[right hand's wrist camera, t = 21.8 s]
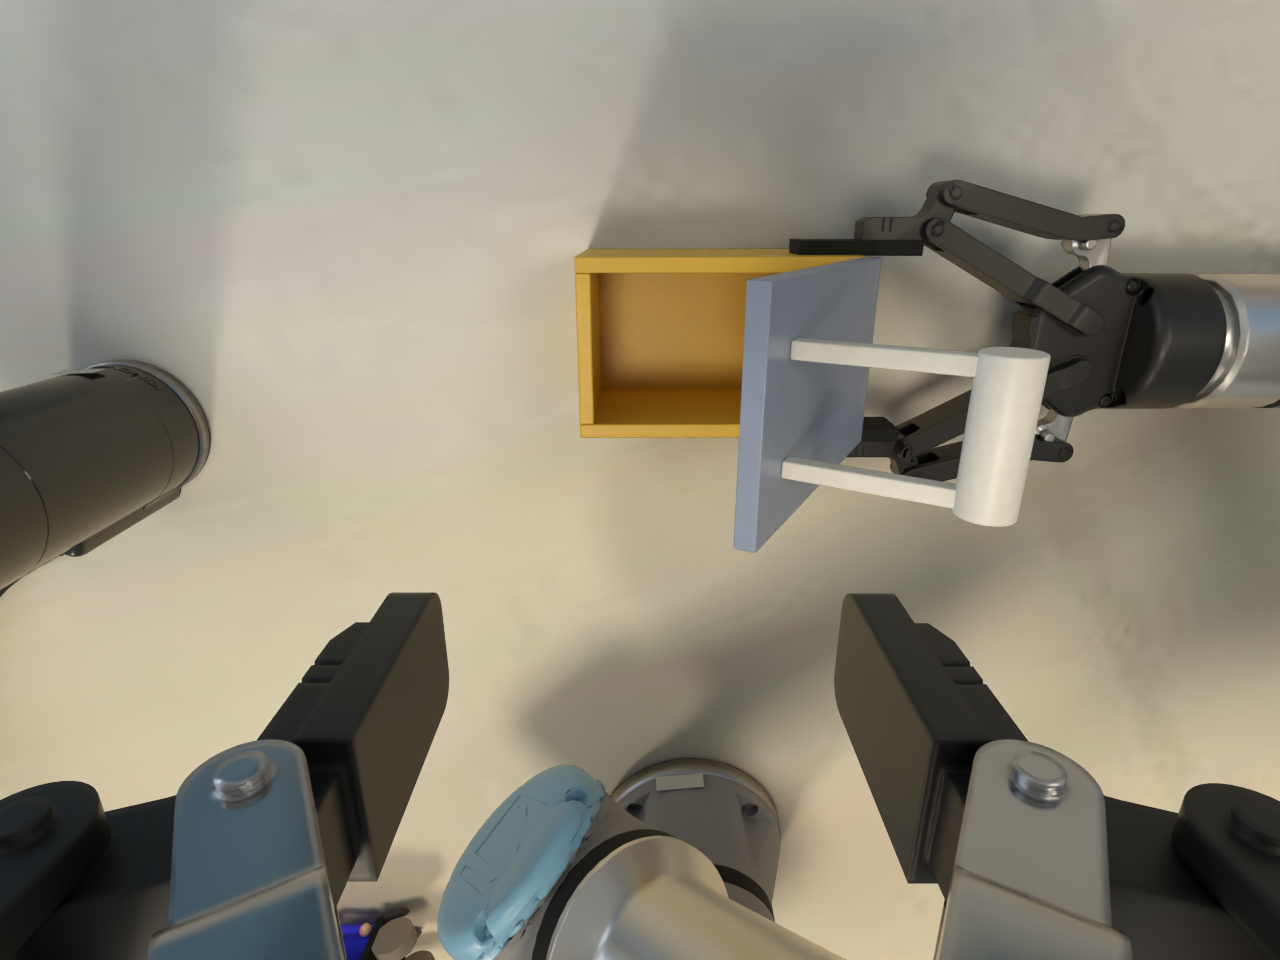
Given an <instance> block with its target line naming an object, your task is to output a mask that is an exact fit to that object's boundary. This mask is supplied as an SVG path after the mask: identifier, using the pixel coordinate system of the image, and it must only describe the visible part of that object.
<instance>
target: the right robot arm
mask: <svg viewBox="0 0 1280 960" xmlns="http://www.w3.org/2000/svg"><path fill="white" fill-rule="evenodd" d="M53 374H65V375H61V376H58V377H54V378H50V379H47V380H43V381H39V382H36V383H32V384H28V385H25V386H21V387H17V388H14V389H10V390H7V391H3V392H0V596H1V595H2V594H3V593H4V592H5V591H6V590H7V589H8V588H9V587H10V586H12V585H13V584H14V583H15V582H17V581H18V580H19V579H21V578H22V577H24V576H25V575H27V574H29V573H30V572H32V571H34V570H35V569H37V568H39V567H41V566H42V565H44V564H46V563H48V562H50V561H51V560H53V559H55V558H56V557H58V556H63V555H64V554H65V555H68V556H72V557H79V556H83V555H85V554H87V553H88V552H90V551H92V550H93V549H95V548H96V547H98V546H100V545H101V544H103V543H105V542H106V541H108V540H110V539H111V538H113V537H115V536H116V535H118V534H120V533H121V532H123V531H124V530H126V529H128V528H129V527H131V526H133V525H134V524H136V523H138V522H139V521H141V520H143V519H144V518H146V517H148V516H149V515H151V514H152V513H154V512H156V511H157V510H159V509H161V508H162V507H164V506H166V505H167V504H169V503H171V502H172V501H174V500H176V499H177V498H178V497H179V491H180V488H181V486H183V485H185V484H187V483H188V482H190V481H191V480H192V479H193V478H194V477H195V476H197V474H198V473H199V472H200V471H201V469H202V468H203V466H204V464H205V462H206V459H207V456H208V451H209V431H208V427H207V423H206V420H205V417H204V415H203V412H202V410H201V409H200V407H199V405H198V403H197V402H196V400H195V399H194V398H193V396H192V395H191V394H190V393H189V391H188V390H187V389H186V388H185V387H184V386H183V385H182V384H181V383H179V382H178V381H177V380H176V379H174V378H173V377H172V376H170V375H169V374H167V373H165V372H164V371H162V370H160V369H158V368H156V367H154V366H151V365H148V364H145V363H142V362H137V361H132V360H113V361H108V362H103V363H100V364H96V365H93V366H90V367H87V368H85V369H82V370H64V371H61V372H57V373H53ZM834 684H835V696H836V702H837V706H838V710H839V713H840V715H841V718H842V720H843V723H844V725H845V728H846V730H847V733H848V735H849V738H850V740H851V743H852V745H853V748H854V750H855V753H856V755H857V758H858V760H859V763H860V765H861V768H862V770H863V773H864V775H865V778H866V780H867V783H868V785H869V787H870V790H871V792H872V795H873V797H874V800H875V802H876V805H877V807H878V810H879V812H880V815H881V817H882V820H883V822H884V825H885V827H886V830H887V832H888V835H889V837H890V840H891V842H892V845H893V847H894V850H895V852H896V855H897V857H898V860H899V862H900V864H901V867H902V869H903V872H904V874H905V877H906V879H907V882H908V883H938V885H939V887H940V889H941V891H942V894H943V896H944V898H945V901H944V906H943V911H942V916H941V921H940V926H939V931H938V937H937V942H936V947H935V953H934V958H933V960H1280V801H1278V800H1276V799H1273V798H1271V797H1269V796H1266V795H1264V794H1261V793H1259V792H1256V791H1253V790H1249V789H1246V788H1243V787H1238V786H1234V785H1228V784H1219V783H1209V784H1201V785H1198V786H1195V787H1193V788H1191V789H1190V790H1189V791H1188V792H1187V793H1186V795H1185V797H1184V799H1183V802H1182V805H1181V808H1180V811H1179V813H1175V812H1170V811H1166V810H1161V809H1157V808H1153V807H1148V806H1144V805H1140V804H1135V803H1131V802H1126V801H1122V800H1118V799H1114V798H1111V797H1107V796H1104V795H1103V793H1102V790H1101V788H1100V786H1099V785H1098V783H1097V782H1096V781H1095V779H1094V778H1093V777H1092V776H1091V775H1090V774H1089V773H1088V772H1087V771H1086V770H1085V769H1084V768H1082V767H1081V766H1080V765H1079V764H1077V763H1076V762H1074V761H1073V760H1072V759H1070V758H1068V757H1067V756H1065V755H1063V754H1061V753H1059V752H1057V751H1055V750H1053V749H1050V748H1048V747H1045V746H1042V745H1039V744H1036V743H1032V742H1028V740H1027V739H1026V738H1025V736H1024V735H1023V734H1022V732H1021V731H1020V729H1019V728H1018V727H1017V725H1016V724H1015V723H1014V721H1013V720H1012V719H1011V717H1010V716H1009V715H1008V713H1007V712H1006V711H1005V709H1004V708H1003V707H1002V705H1001V704H1000V702H999V701H998V700H997V698H996V697H995V696H994V694H993V693H992V692H991V690H990V689H989V688H988V686H987V685H986V684H983V680H982V678H981V677H980V675H979V674H978V673H977V671H976V670H975V669H974V667H970V662H969V661H968V659H967V658H966V657H965V655H964V654H963V653H962V651H961V650H960V649H959V647H958V646H957V644H956V643H955V642H954V641H953V640H951V639H950V638H949V637H947V636H946V635H944V634H943V633H941V632H940V631H938V630H937V629H935V628H934V627H933V626H931V625H930V624H928V623H914V622H913V620H912V619H911V617H910V616H909V614H908V613H907V611H906V610H905V608H904V607H903V605H902V604H901V603H900V601H899V600H898V598H897V597H896V596H895V595H894V594H847V595H846V596H845V598H844V601H843V605H842V613H841V622H840V630H839V639H838V648H837V657H836V665H835V677H834ZM448 690H449V669H448V660H447V651H446V642H445V633H444V624H443V615H442V607H441V601H440V598H439V596H438V594H437V593H390V594H389V595H388V596H387V597H386V599H385V600H384V602H383V603H382V605H381V606H380V608H379V609H378V611H377V612H376V614H375V615H374V617H373V618H372V620H371V621H370V622H356V623H354V624H353V625H351V626H350V627H349V628H347V629H346V630H344V631H343V632H341V633H340V634H338V635H337V636H336V637H334V638H333V639H331V640H330V641H329V642H328V644H327V645H326V647H325V648H324V649H323V651H322V652H321V653H320V655H319V656H318V657H317V659H316V660H315V665H312V666H311V667H310V668H309V670H308V671H307V672H306V674H305V675H304V677H303V678H302V683H298V685H297V686H296V687H295V689H294V690H293V692H292V693H291V694H290V696H289V697H288V698H287V700H286V701H285V702H284V704H283V705H282V707H281V708H280V709H279V711H278V712H277V713H276V715H275V716H274V717H273V719H272V720H271V722H270V723H269V724H268V726H267V727H266V728H265V730H264V731H263V732H262V734H261V735H260V737H259V738H258V739H257V741H252V742H248V743H244V744H241V745H238V746H235V747H232V748H230V749H227V750H225V751H223V752H221V753H219V754H217V755H215V756H213V757H212V758H210V759H208V760H207V761H206V762H204V763H203V764H201V765H200V766H199V767H198V768H196V769H195V770H194V771H193V772H192V773H191V774H190V775H189V776H188V777H187V778H186V779H185V781H184V782H183V783H182V785H181V786H180V788H179V790H178V793H177V795H175V796H172V797H168V798H164V799H160V800H155V801H151V802H146V803H142V804H138V805H133V806H129V807H125V808H120V809H116V810H111V811H107V812H104V810H103V807H102V804H101V801H100V798H99V795H98V793H97V791H96V790H95V788H93V787H92V786H90V785H89V784H86V783H83V782H77V781H60V782H52V783H47V784H43V785H38V786H35V787H32V788H29V789H26V790H23V791H20V792H18V793H15V794H13V795H10V796H8V797H6V798H4V799H2V800H0V960H347V958H346V953H345V947H344V942H343V937H342V931H341V926H340V921H339V916H338V911H337V904H338V901H339V899H340V897H341V895H342V892H343V890H344V888H345V886H346V883H347V881H377V880H378V877H379V875H380V872H381V870H382V867H383V865H384V862H385V860H386V857H387V855H388V852H389V850H390V847H391V844H392V842H393V839H394V837H395V834H396V832H397V829H398V827H399V824H400V822H401V819H402V817H403V814H404V812H405V809H406V807H407V804H408V802H409V799H410V797H411V794H412V792H413V789H414V786H415V784H416V781H417V779H418V776H419V774H420V771H421V769H422V766H423V764H424V761H425V759H426V756H427V754H428V751H429V749H430V746H431V744H432V741H433V739H434V736H435V733H436V731H437V728H438V726H439V723H440V721H441V718H442V716H443V713H444V711H445V707H446V703H447V698H448Z"/></svg>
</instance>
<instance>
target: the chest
mask: <svg viewBox="0 0 1280 960" xmlns="http://www.w3.org/2000/svg"><path fill="white" fill-rule="evenodd" d="M862 257H868V256H863V255H797V254H792V253H789V249H588V250H585V251H584V252H582V253H581V254H579V255H578V256H576V257H575V273H576V274H575V286H576V317H577V349H578V380H579V411H580V437H581V438H695V437H739V431H740V411H741V391H742V371H743V351H744V332H745V312H746V292H747V280H748V279H753V278H759V277H764V276H769V275H774V274H779V273H784V272H790V271H795V270H800V269H805V268H810V267H816V266H821V265H826V264H831V263H836V262H841V261H847V260H852V259H857V258H862Z"/></svg>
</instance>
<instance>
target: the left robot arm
mask: <svg viewBox="0 0 1280 960" xmlns="http://www.w3.org/2000/svg"><path fill="white" fill-rule="evenodd" d="M926 198H927V199H926V201H925V203H924V205H923V207H922V209H921V210H920V211H919V213H917V214H916V215H914V216H912V217H864V218H861V219H859V220H857V221H855V230H854V239H790V245H789V253H792V254H797V255H863V256H922V254H923V246H924V245H925V246H926V247H928V248H929V249H931V250H933V251H934V252H936V253H937V254H939V255H941V256H942V257H944V258H945V259H947V260H949V261H950V262H952V263H954V264H955V265H957V266H958V267H960V268H962V269H963V270H965V271H966V272H968V273H970V274H971V275H973V276H974V277H976V278H978V279H979V280H981V281H982V282H984V283H986V284H987V285H989V286H990V287H992V288H994V289H995V290H997V291H998V292H1000V293H1001V294H1002V295H1003V296H1004V297H1005V298H1007V299H1009V300H1010V301H1012V302H1013V303H1015V304H1017V305H1018V306H1020V307H1021V308H1020V309H1019V311H1018V312H1014V314H1013V320H1012V325H1011V327H1012V342H1011V344H1010V346H1009V347H1017V348H1027V349H1034V350H1039V351H1043V352H1046V353H1048V354H1049V355H1050V357H1051V358H1050V363H1049V368H1048V373H1047V378H1046V383H1045V388H1044V393H1043V398H1042V403H1041V404H1042V405H1044V406H1045V407H1046V408H1047V409H1049V412H1048V414H1047V415H1046V417H1044V418H1043V419H1041V420H1038V422H1037V427H1036V432H1035V437H1034V442H1033V447H1032V452H1031V457H1030V460H1038V461H1050V462H1065V461H1067V460H1069V459H1070V458H1071V456H1072V455H1073V447H1072V446H1071V445H1070V444H1069V443H1067V442H1066V439H1067V436H1068V433H1069V430H1070V427H1071V423H1072V420H1073V417H1074V416H1078V415H1081V414H1083V413H1085V412H1087V411H1089V410H1092V409H1097V408H1173V407H1178V408H1188V409H1203V408H1280V274H1199V275H1192V274H1121V273H1119V272H1117V271H1115V270H1114V269H1113V268H1111V267H1109V266H1108V259H1109V252H1110V245H1111V238H1115V237H1117V236H1119V235H1120V234H1121V233H1122V231H1123V230H1124V227H1125V220H1124V218H1123V217H1122V216H1121V215H1119V214H1085V215H1074V214H1070V213H1067V212H1064V211H1061V210H1057V209H1054V208H1051V207H1047V206H1044V205H1041V204H1037V203H1034V202H1031V201H1027V200H1024V199H1021V198H1018V197H1014V196H1011V195H1008V194H1004V193H1001V192H998V191H994V190H991V189H988V188H984V187H981V186H978V185H975V184H971V183H968V182H965V181H961V180H951V181H942V182H936V183H933V184H932V185H931V186H930V187H929V188H928V190H927V193H926ZM954 212H957V213H960V214H964V215H967V216H970V217H974V218H977V219H981V220H984V221H987V222H991V223H994V224H997V225H1001V226H1004V227H1007V228H1011V229H1014V230H1017V231H1021V232H1024V233H1028V234H1031V235H1034V236H1038V237H1042V238H1046V239H1057V240H1062V242H1061V246H1062V247H1063V249H1064V251H1065V252H1066V253H1067V254H1071V255H1075V256H1076V257H1077V258H1078V259H1079V262H1080V266H1079V267H1077V268H1075V269H1073V270H1072V271H1070V272H1069V273H1067V274H1066V275H1064V276H1063V277H1061V278H1060V279H1058V280H1057V281H1055V282H1054V283H1052V284H1050V283H1048V282H1047V281H1045V280H1042V279H1040V278H1037V277H1036V276H1034V275H1032V274H1031V273H1029V272H1028V271H1026V270H1024V269H1023V268H1021V267H1020V266H1018V265H1017V264H1015V263H1013V262H1012V261H1010V260H1009V259H1007V258H1005V257H1004V256H1002V255H1001V254H999V253H998V252H996V251H994V250H993V249H991V248H990V247H988V246H987V245H985V244H983V243H982V242H980V241H979V240H977V239H976V238H974V237H972V236H971V235H969V234H968V233H966V232H964V231H963V230H961V229H960V228H958V227H957V226H955V225H953V224H952V223H950V220H951V218H952V216H953V214H954ZM971 390H972V389H971ZM971 390H969V391H967V392H965V393H963V394H961V395H959V396H957V397H955V398H953V399H951V400H949V401H947V402H945V403H943V404H941V405H939V406H937V407H935V408H933V409H931V410H929V411H927V412H925V413H923V414H921V415H919V416H917V417H915V418H913V419H910V420H908V421H906V422H904V423H902V424H900V425H898V426H894V425H893V424H892V423H891V422H889V421H888V420H887V419H886V418H885V417H864V419H863V428H862V436H861V441H860V443H859V444H858V445H857V446H856V447H855V448H854V449H853V450H852V451H851V452H850V453H849V454H848V455H847V456H846V457H889V458H890V461H891V464H890V469H891V471H892V472H893V473H894V474H898V475H905V476H911V477H917V478H923V479H929V480H935V481H941V482H942V481H946V480H951V479H955V478H957V474H958V468H959V462H960V456H961V450H962V444H963V441H961V442H957V443H953V444H948V445H944V446H940V447H936V446H938V445H940V444H942V443H944V442H946V441H948V440H950V439H953V438H955V437H957V436H959V435H961V434H963V433H964V432H965V426H966V420H967V414H968V408H969V402H970V396H971ZM934 447H936V448H934ZM779 853H780V830H779V825H778V821H777V816H776V812H775V809H774V806H773V803H772V801H771V799H770V797H769V796H768V794H767V793H766V791H765V790H764V789H763V788H762V787H761V786H760V785H759V784H758V783H757V782H756V781H755V780H754V779H753V778H751V777H750V776H749V775H747V774H745V773H744V772H742V771H740V770H738V769H736V768H734V767H731V766H729V765H726V764H723V763H719V762H715V761H710V760H702V759H680V760H672V761H667V762H663V763H659V764H656V765H653V766H650V767H648V768H646V769H644V770H641V771H639V772H638V773H636V774H634V775H633V776H631V777H630V778H629V779H627V780H626V781H625V782H624V783H622V784H621V785H620V786H619V787H618V788H617V789H616V791H615V792H614V793H613V794H612V796H611V797H610V796H609V795H608V794H607V793H606V792H605V788H604V785H603V784H602V782H601V781H600V780H594V779H593V778H592V777H591V776H590V775H589V774H587V773H586V772H585V771H584V770H582V769H581V768H579V767H576V766H573V765H560V766H556V767H552V768H550V769H547V770H545V771H543V772H541V773H539V774H537V775H536V776H534V777H533V778H531V779H530V780H528V781H527V782H526V783H525V784H524V785H522V786H521V787H519V788H518V789H517V790H516V791H514V792H513V793H512V794H511V795H510V796H509V797H508V798H507V799H506V800H505V801H504V802H503V803H502V804H501V805H500V806H499V807H498V808H497V809H496V810H495V811H494V812H493V814H492V815H491V816H490V817H489V818H488V819H487V821H486V822H485V823H484V824H483V826H482V827H481V828H480V829H479V831H478V832H477V833H476V835H475V836H474V838H473V839H472V840H471V842H470V843H469V845H468V846H467V848H466V849H465V851H464V853H463V854H462V856H461V858H460V859H459V861H458V863H457V865H456V867H455V869H454V871H453V873H452V875H451V877H450V880H449V883H448V885H447V886H446V889H445V891H444V894H443V897H442V901H441V904H440V909H439V914H438V934H439V938H440V941H441V944H442V946H443V947H444V949H445V951H446V952H447V953H448V954H449V955H450V956H451V957H452V958H453V959H454V960H846V959H844V958H842V957H840V956H838V955H836V954H834V953H832V952H831V951H829V950H827V949H825V948H823V947H821V946H819V945H817V944H815V943H813V942H811V941H809V940H807V939H806V938H804V937H802V936H800V935H798V934H796V933H794V932H792V931H790V930H788V929H786V928H784V927H782V926H781V925H779V924H777V923H775V920H774V915H773V910H772V898H773V892H774V885H775V879H776V873H777V866H778V860H779Z"/></svg>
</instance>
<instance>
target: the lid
mask: <svg viewBox="0 0 1280 960" xmlns="http://www.w3.org/2000/svg"><path fill="white" fill-rule="evenodd" d="M881 260H882V258H881V257H862V258H857V259H852V260H847V261H841V262H836V263H831V264H826V265H821V266H816V267H810V268H805V269H800V270H795V271H790V272H784V273H779V274H774V275H769V276H764V277H759V278H753V279H748V280H747V292H746V312H745V332H744V351H743V371H742V391H741V411H740V431H739V451H738V471H737V491H736V511H735V531H734V548H735V549H739V550H743V551H748V552H752V553H756V552H757V551H758V550H759V549H760V548H761V546H762V545H763V544H764V543H765V542H766V541H767V540H768V539H769V538H770V537H771V536H772V535H773V534H774V533H775V532H776V531H777V529H778V528H779V527H780V526H781V525H782V524H783V523H784V522H785V521H786V520H787V519H788V518H789V517H790V516H791V515H792V514H793V513H794V511H795V510H796V509H797V508H798V507H799V506H800V505H801V504H802V503H803V502H804V501H805V500H806V499H807V498H808V497H809V496H810V495H811V493H812V492H813V491H814V490H815V489H816V488H817V487H818V486H819V485H824V486H829V487H835V488H841V489H846V490H852V491H857V492H863V493H869V494H874V495H880V496H885V497H891V498H897V499H902V500H908V501H913V502H919V503H925V504H930V505H936V506H941V507H947V508H952V511H953V513H954V514H955V515H956V516H957V517H959V518H960V519H962V520H965V521H967V522H970V523H974V524H978V525H983V526H992V527H1003V526H1010V525H1013V524H1014V523H1016V522H1017V520H1018V516H1019V511H1020V506H1021V501H1022V496H1023V491H1024V487H1025V482H1026V477H1027V472H1028V467H1029V462H1030V457H1031V452H1032V447H1033V442H1034V437H1035V432H1036V427H1037V422H1038V417H1039V412H1040V408H1041V403H1042V398H1043V393H1044V388H1045V383H1046V378H1047V373H1048V368H1049V363H1050V358H1051V357H1050V355H1049V354H1048V353H1046V352H1043V351H1039V350H1034V349H1027V348H1017V347H987V348H982V349H980V350H979V351H978V352H966V351H953V350H941V349H929V348H916V347H904V346H892V345H879V344H872V339H873V330H874V321H875V313H876V304H877V295H878V286H879V277H880V268H881ZM869 367H872V368H883V369H893V370H904V371H914V372H924V373H935V374H945V375H955V376H966V377H974V378H973V384H972V390H971V396H970V402H969V408H968V414H967V420H966V426H965V432H964V438H963V444H962V450H961V456H960V462H959V468H958V474H957V481H956V484H954V483H947V482H941V481H935V480H929V479H923V478H917V477H911V476H905V475H898V474H892V473H886V472H880V471H874V470H868V469H862V468H855V467H849V466H843V465H839V464H840V463H841V462H842V461H843V460H844V458H845V457H846V456H847V455H848V454H849V453H850V452H851V451H852V450H853V449H854V448H855V447H856V446H857V445H858V444H859V443H860V441H861V436H862V428H863V419H864V410H865V401H866V392H867V383H868V375H869Z"/></svg>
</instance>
